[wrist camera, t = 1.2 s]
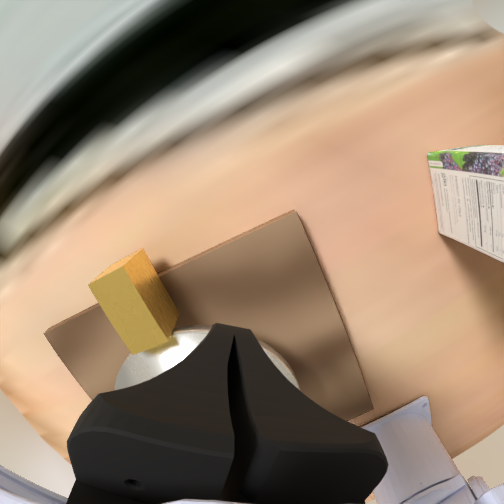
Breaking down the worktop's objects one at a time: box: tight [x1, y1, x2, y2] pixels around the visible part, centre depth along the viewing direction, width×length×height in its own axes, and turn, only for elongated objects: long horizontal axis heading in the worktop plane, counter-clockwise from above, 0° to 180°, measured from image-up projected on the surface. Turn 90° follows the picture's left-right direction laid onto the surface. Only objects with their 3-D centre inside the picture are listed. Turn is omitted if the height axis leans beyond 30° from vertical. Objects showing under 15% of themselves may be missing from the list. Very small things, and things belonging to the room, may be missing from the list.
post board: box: [44, 210, 374, 421], centre depth 20 cm, size 17×20×5 cm
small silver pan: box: [88, 249, 300, 390], centre depth 19 cm, size 16×12×4 cm
